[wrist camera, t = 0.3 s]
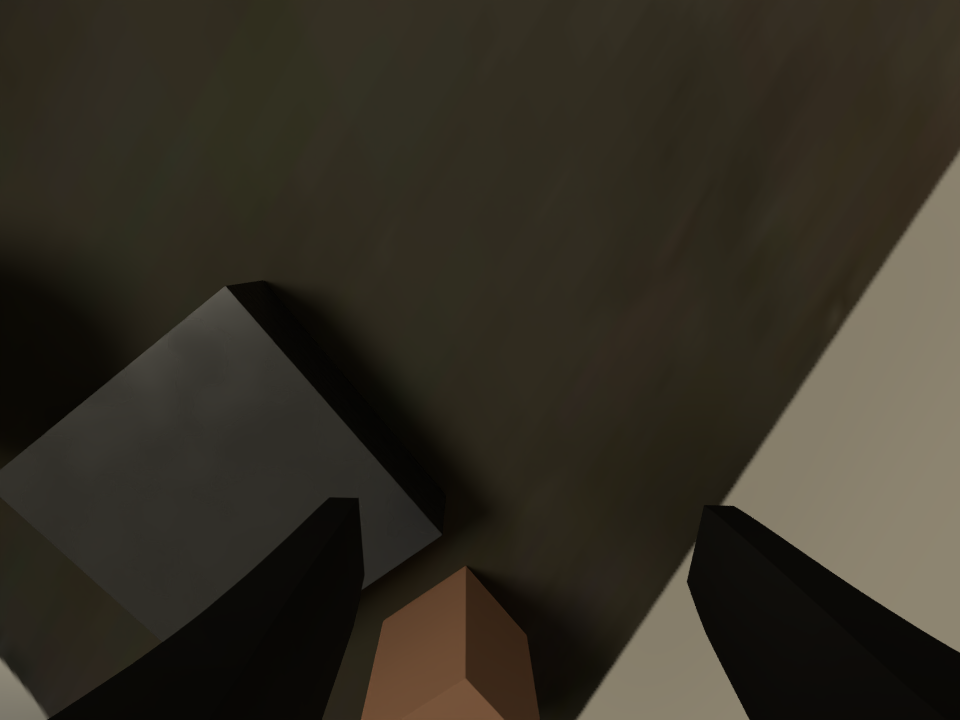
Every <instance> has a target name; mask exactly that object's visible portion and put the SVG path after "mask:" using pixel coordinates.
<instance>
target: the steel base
mask: <svg viewBox="0 0 960 720" xmlns="http://www.w3.org/2000/svg"><path fill="white" fill-rule="evenodd" d="M0 497H1V498H2V499H3V500H4V501H5V502H6V503H8V504H9V505H10V506H11V507H12V508H13V509H14V510H15V511H17V512H18V513H19V514H20V515H21V516H22V517H23V518H24V519H25V520H27V521H28V522H29V523H30V524H31V525H32V526H33V527H34V528H36V529H37V530H38V531H39V532H40V533H41V534H42V535H43V536H44V537H46V538H47V539H48V540H49V541H50V542H51V543H52V544H53V545H55V546H56V547H57V548H58V549H59V550H60V551H61V552H62V553H63V554H65V555H66V556H67V557H68V558H69V559H70V560H71V561H72V562H74V563H75V564H76V565H77V566H78V567H79V568H80V569H81V570H82V571H84V572H85V573H86V574H87V575H88V576H89V577H90V578H91V579H93V580H94V581H95V582H96V583H97V584H98V585H99V586H100V587H101V588H103V589H104V590H105V591H106V592H107V593H108V594H109V595H110V596H112V597H113V598H114V599H115V600H116V601H117V602H118V603H119V604H120V605H122V606H123V607H124V608H125V609H126V610H127V611H128V612H129V613H131V614H132V615H133V616H134V617H135V618H136V619H137V620H138V621H139V622H141V623H142V624H143V625H144V626H145V627H146V628H147V629H148V630H150V631H151V632H152V633H153V634H154V635H155V636H156V637H157V638H158V639H160V640H161V641H162V642H163V641H165V640H166V639H167V638H169V637H170V636H172V635H173V634H174V633H176V632H177V631H178V630H180V629H181V628H182V627H184V626H185V625H186V624H187V623H189V622H190V621H191V620H193V619H194V618H195V617H197V616H198V615H199V614H200V613H202V612H203V611H204V610H205V609H207V608H208V607H209V606H210V605H211V604H212V603H214V602H215V601H216V600H217V599H218V598H220V597H221V596H222V595H223V594H224V593H225V592H227V591H228V590H229V589H230V588H231V587H233V586H234V585H235V584H236V583H237V582H239V581H240V580H241V579H242V578H243V577H244V576H245V575H247V574H248V573H249V572H250V571H251V570H252V569H253V568H254V567H256V566H257V565H258V564H259V563H260V562H261V561H262V560H263V559H264V558H265V557H266V556H268V555H269V554H270V553H271V552H272V551H273V550H274V549H275V548H276V547H277V546H278V545H280V544H281V543H282V542H283V541H284V540H285V539H286V538H287V537H288V536H289V535H290V534H291V533H292V532H293V531H294V530H295V529H296V528H297V527H298V526H299V525H301V524H302V523H303V522H304V521H305V520H306V519H307V518H308V517H309V516H310V515H311V514H312V513H313V512H314V511H315V510H316V509H317V508H318V507H319V506H320V505H321V504H323V503H324V502H325V501H326V500H327V499H328V498H329V497H343V498H359V509H360V521H361V534H362V547H363V559H364V572H365V576H364V581H363V586H362V590H363V589H364V588H365V587H367V586H368V585H370V584H371V583H373V582H374V581H376V580H377V579H379V578H380V577H382V576H383V575H384V574H386V573H387V572H389V571H390V570H392V569H393V568H395V567H396V566H398V565H399V564H401V563H402V562H403V561H405V560H406V559H408V558H409V557H411V556H412V555H414V554H415V553H417V552H418V551H420V550H421V549H423V548H424V547H425V546H427V545H428V544H430V543H431V542H433V541H434V540H436V539H437V538H439V537H440V536H442V533H443V522H444V510H445V498H446V495H445V494H444V493H443V492H442V491H441V489H440V488H439V487H438V486H437V485H436V483H435V482H434V481H433V480H432V479H431V478H430V476H429V475H428V474H427V473H426V472H425V470H424V469H423V468H422V467H421V466H420V465H419V463H418V462H417V461H416V460H415V459H414V458H413V456H412V455H411V454H410V453H409V452H408V450H407V449H406V448H405V447H404V446H403V445H402V443H401V442H400V441H399V440H398V439H397V438H396V436H395V435H394V434H393V433H392V432H391V430H390V429H389V428H388V427H387V426H386V425H385V423H384V422H383V421H382V420H381V419H380V418H379V416H378V415H377V414H376V413H375V412H374V410H373V409H372V408H371V407H370V406H369V405H368V403H367V402H366V401H365V400H364V399H363V398H362V396H361V395H360V394H359V393H358V392H357V390H356V389H355V388H354V387H353V386H352V385H351V383H350V382H349V381H348V380H347V379H346V377H345V376H344V375H343V374H342V373H341V372H340V370H339V369H338V368H337V367H336V366H335V365H334V363H333V362H332V361H331V360H330V359H329V357H328V356H327V355H326V354H325V353H324V352H323V350H322V349H321V348H320V347H319V346H318V345H317V343H316V342H315V341H314V340H313V339H312V337H311V336H310V335H309V334H308V333H307V332H306V330H305V329H304V328H303V327H302V326H301V325H300V323H299V322H298V321H297V320H296V319H295V317H294V316H293V315H292V314H291V313H290V312H289V310H288V309H287V308H286V307H285V306H284V305H283V303H282V302H281V301H280V300H279V299H278V297H277V296H276V295H275V294H274V293H273V292H272V290H271V289H270V288H269V287H268V286H267V284H266V283H265V282H264V281H263V280H262V281H256V282H249V283H242V284H236V285H229V286H225V287H224V288H222V289H221V290H220V291H219V292H217V293H216V294H215V295H214V296H212V297H211V298H210V299H209V300H208V301H206V302H205V303H204V304H203V305H201V306H200V307H199V308H198V309H197V310H195V311H194V312H193V313H192V314H190V315H189V316H188V317H187V318H186V319H184V320H183V321H182V322H181V323H179V324H178V325H177V326H176V327H175V328H173V329H172V330H171V331H170V332H168V333H167V334H166V335H165V336H164V337H162V338H161V339H160V340H159V341H157V342H156V343H155V344H154V345H153V346H151V347H150V348H149V349H148V350H146V351H145V352H144V353H143V354H141V355H140V356H139V357H138V358H137V359H135V360H134V361H133V362H132V363H130V364H129V365H128V366H127V367H126V368H124V369H123V370H122V371H121V372H119V373H118V374H117V375H116V376H115V377H113V378H112V379H111V380H110V381H108V382H107V383H106V384H105V385H104V386H102V387H101V388H100V389H99V390H97V391H96V392H95V393H94V394H93V395H91V396H90V397H89V398H88V399H86V400H85V401H84V402H83V403H81V404H80V405H79V406H78V407H77V408H75V409H74V410H73V411H72V412H70V413H69V414H68V415H67V416H66V417H64V418H63V419H62V420H61V421H59V422H58V423H57V424H56V425H55V426H53V427H52V428H51V429H50V430H48V431H47V432H46V433H45V434H44V435H42V436H41V437H40V438H39V439H37V440H36V441H35V442H34V443H33V444H31V445H30V446H29V447H28V448H26V449H25V450H24V451H23V452H22V453H20V454H19V455H18V456H17V457H15V458H14V459H13V460H12V461H10V462H9V463H8V464H7V465H6V466H4V467H3V468H2V469H1V470H0Z"/></svg>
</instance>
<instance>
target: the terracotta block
mask: <svg viewBox="0 0 960 720" xmlns="http://www.w3.org/2000/svg"><path fill="white" fill-rule="evenodd" d="M361 720H540V718H539V711H538V705H537V698H536V692H535V685H534V679H533V673H532V666H531V660H530V653H529V647H528V640H527V635H526V634H525V633H524V632H523V631H522V629H521V628H520V627H519V626H518V625H517V624H516V623H515V621H514V620H513V619H512V618H511V617H510V616H509V615H508V613H507V612H506V611H505V610H504V609H503V608H502V607H501V605H500V604H499V603H498V602H497V601H496V600H495V599H494V597H493V596H492V595H491V594H490V593H489V592H488V591H487V589H486V588H485V587H484V586H483V585H482V584H481V582H480V581H479V580H478V579H477V578H476V577H475V576H474V574H473V573H472V572H471V571H470V570H469V569H468V568H467V566H465V567H463V568H462V569H460V570H459V571H457V572H456V573H454V574H453V575H451V576H450V577H448V578H447V579H445V580H444V581H442V582H441V583H439V584H438V585H436V586H435V587H433V588H432V589H430V590H429V591H427V592H426V593H424V594H423V595H421V596H420V597H418V598H417V599H415V600H414V601H412V602H411V603H409V604H408V605H406V606H405V607H403V608H402V609H400V610H399V611H397V612H396V613H394V614H393V615H391V616H390V617H388V618H387V619H385V620H384V621H383V625H382V630H381V634H380V638H379V643H378V647H377V652H376V656H375V661H374V665H373V669H372V674H371V678H370V683H369V687H368V692H367V696H366V700H365V705H364V709H363V714H362V718H361Z"/></svg>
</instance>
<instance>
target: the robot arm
mask: <svg viewBox="0 0 960 720" xmlns="http://www.w3.org/2000/svg"><path fill="white" fill-rule="evenodd" d="M364 576H365V572H364V559H363V547H362V534H361V521H360V509H359V498H343V497H329V498H328V499H327V500H326V501H325V502H324V503H323V504H321V505H320V506H319V507H318V508H317V509H316V510H315V511H314V512H313V513H312V514H311V515H310V516H309V517H308V518H307V519H306V520H305V521H304V522H303V523H302V524H301V525H299V526H298V527H297V528H296V529H295V530H294V531H293V532H292V533H291V534H290V535H289V536H288V537H287V538H286V539H285V540H284V541H283V542H282V543H281V544H280V545H278V546H277V547H276V548H275V549H274V550H273V551H272V552H271V553H270V554H269V555H268V556H266V557H265V558H264V559H263V560H262V561H261V562H260V563H259V564H258V565H257V566H256V567H254V568H253V569H252V570H251V571H250V572H249V573H248V574H247V575H245V576H244V577H243V578H242V579H241V580H240V581H239V582H237V583H236V584H235V585H234V586H233V587H231V588H230V589H229V590H228V591H227V592H225V593H224V594H223V595H222V596H221V597H220V598H218V599H217V600H216V601H215V602H214V603H212V604H211V605H210V606H209V607H208V608H207V609H205V610H204V611H203V612H202V613H200V614H199V615H198V616H197V617H195V618H194V619H193V620H191V621H190V622H189V623H187V624H186V625H185V626H184V627H182V628H181V629H180V630H178V631H177V632H176V633H174V634H173V635H172V636H170V637H169V638H167V639H166V640H165V641H163V642H162V643H161V644H159V645H158V646H157V647H155V648H154V649H152V650H151V651H150V652H148V653H147V654H146V655H144V656H143V657H141V658H140V659H139V660H137V661H136V662H134V663H133V664H131V665H130V666H129V667H127V668H126V669H124V670H123V671H121V672H119V673H118V674H116V675H115V676H113V677H112V678H110V679H109V680H107V681H106V682H104V683H103V684H101V685H100V686H98V687H97V688H95V689H94V690H92V691H91V692H89V693H88V694H86V695H85V696H83V697H82V698H80V699H79V700H77V701H75V702H74V703H72V704H71V705H69V706H68V707H66V708H65V709H63V710H62V711H60V712H59V713H57V714H56V715H54V716H53V717H51V718H49V719H48V720H322V717H323V714H324V711H325V708H326V705H327V702H328V700H329V697H330V694H331V691H332V688H333V685H334V682H335V679H336V676H337V673H338V670H339V667H340V665H341V662H342V659H343V656H344V653H345V650H346V647H347V644H348V641H349V638H350V635H351V632H352V629H353V626H354V622H355V617H356V613H357V609H358V604H359V600H360V595H361V590H362V586H363V581H364ZM687 583H688V586H689V589H690V592H691V595H692V598H693V600H694V603H695V606H696V609H697V612H698V614H699V617H700V620H701V622H702V625H703V627H704V630H705V632H706V634H707V637H708V639H709V641H710V643H711V645H712V647H713V649H714V651H715V653H716V655H717V657H718V658H719V661H720V662H721V665H722V667H723V668H724V670H725V673H726V675H727V676H728V678H729V680H730V682H731V684H732V686H733V688H734V690H735V692H736V694H737V696H738V698H739V700H740V702H741V704H742V706H743V708H744V710H745V712H746V714H747V716H748V717H749V719H750V720H960V653H959V652H958V651H956V650H954V649H952V648H950V647H949V646H947V645H946V644H944V643H942V642H940V641H939V640H937V639H935V638H934V637H932V636H930V635H929V634H927V633H925V632H924V631H922V630H920V629H919V628H917V627H916V626H914V625H913V624H911V623H909V622H908V621H906V620H905V619H903V618H901V617H900V616H898V615H897V614H895V613H893V612H892V611H890V610H888V609H887V608H886V607H884V606H882V605H881V604H879V603H878V602H876V601H874V600H873V599H871V598H870V597H868V596H867V595H865V594H864V593H862V592H861V591H859V590H858V589H856V588H855V587H853V586H852V585H850V584H849V583H847V582H845V581H844V580H843V579H841V578H840V577H838V576H837V575H835V574H834V573H832V572H831V571H829V570H828V569H826V568H825V567H823V566H822V565H821V564H819V563H818V562H816V561H815V560H813V559H812V558H810V557H809V556H807V555H806V554H805V553H803V552H802V551H800V550H799V549H797V548H796V547H794V546H793V545H792V544H790V543H789V542H787V541H786V540H784V539H783V538H782V537H780V536H779V535H777V534H776V533H774V532H773V531H771V530H770V529H768V528H767V527H766V526H764V525H763V524H761V523H760V522H758V521H757V520H755V519H754V518H752V517H751V516H749V515H748V514H746V513H744V512H743V511H741V510H740V509H738V508H736V507H735V506H716V505H704V508H703V513H702V517H701V522H700V526H699V531H698V535H697V539H696V544H695V548H694V553H693V557H692V562H691V566H690V570H689V575H688V579H687Z"/></svg>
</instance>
